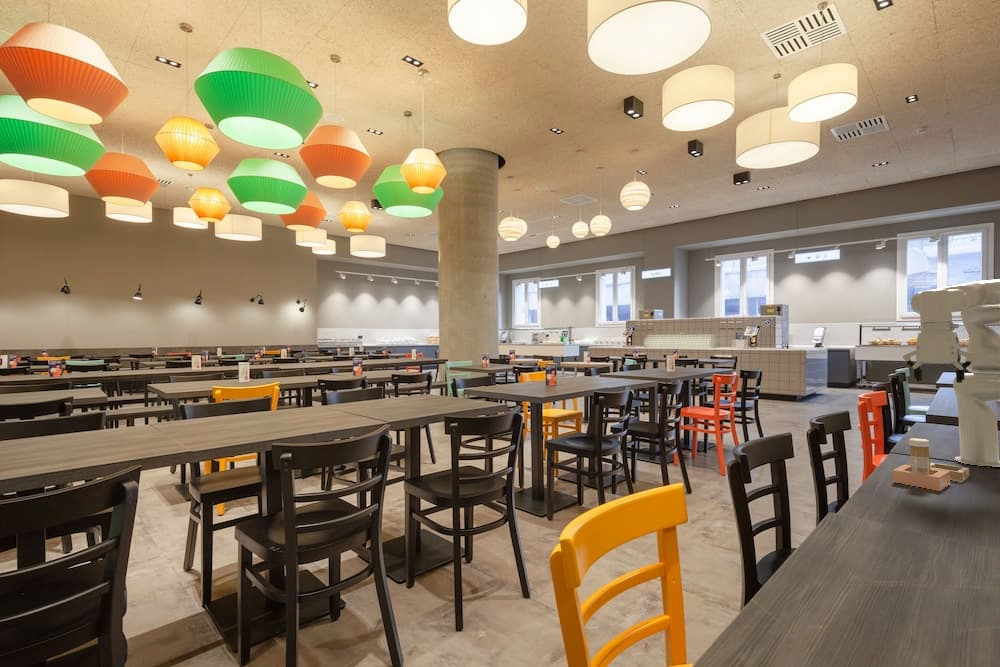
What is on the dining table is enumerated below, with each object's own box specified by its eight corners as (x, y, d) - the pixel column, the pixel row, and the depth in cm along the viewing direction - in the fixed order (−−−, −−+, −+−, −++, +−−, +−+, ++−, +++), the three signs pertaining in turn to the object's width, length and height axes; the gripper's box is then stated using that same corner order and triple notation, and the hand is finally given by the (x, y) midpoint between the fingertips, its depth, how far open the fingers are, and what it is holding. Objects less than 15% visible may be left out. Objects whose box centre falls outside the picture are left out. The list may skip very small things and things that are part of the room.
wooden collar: (932, 471, 157) (931, 462, 157) (969, 477, 150) (969, 467, 150) (923, 476, 152) (923, 466, 152) (962, 482, 145) (961, 472, 145)
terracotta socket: (904, 476, 152) (904, 464, 152) (950, 484, 143) (949, 471, 143) (893, 483, 146) (892, 470, 146) (939, 491, 137) (939, 477, 137)
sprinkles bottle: (931, 483, 145) (929, 439, 145) (930, 486, 141) (928, 441, 142) (912, 480, 148) (910, 437, 148) (910, 483, 145) (908, 439, 145)
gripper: (976, 327, 147) (979, 382, 147) (905, 329, 161) (908, 379, 161) (970, 327, 143) (973, 383, 142) (898, 329, 157) (900, 381, 157)
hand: (938, 381), depth 152 cm, fingers open, 9 cm apart
